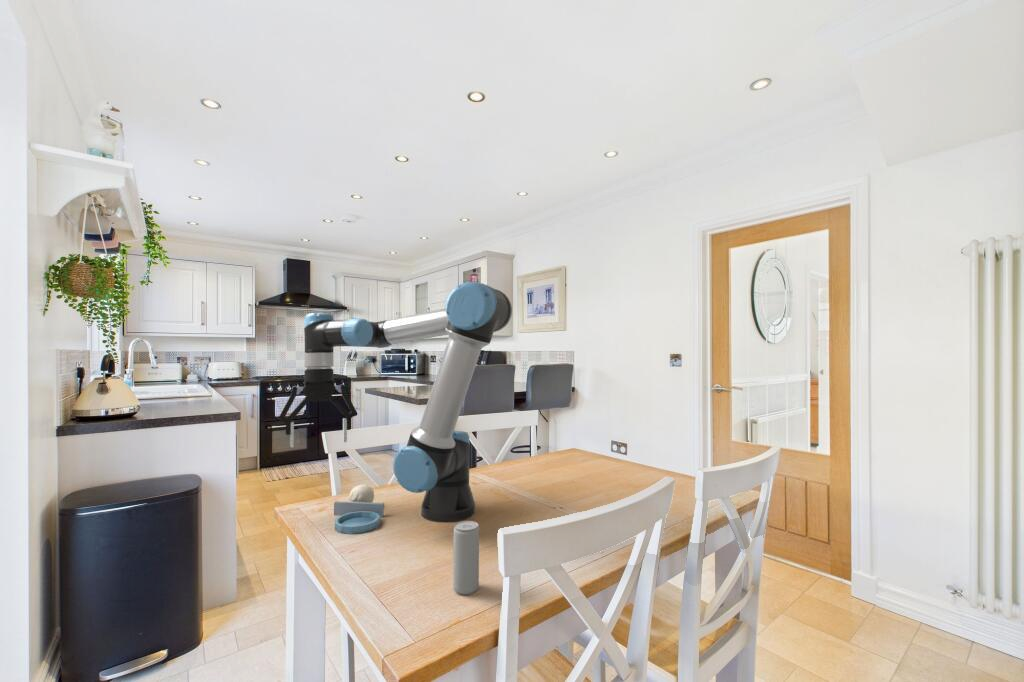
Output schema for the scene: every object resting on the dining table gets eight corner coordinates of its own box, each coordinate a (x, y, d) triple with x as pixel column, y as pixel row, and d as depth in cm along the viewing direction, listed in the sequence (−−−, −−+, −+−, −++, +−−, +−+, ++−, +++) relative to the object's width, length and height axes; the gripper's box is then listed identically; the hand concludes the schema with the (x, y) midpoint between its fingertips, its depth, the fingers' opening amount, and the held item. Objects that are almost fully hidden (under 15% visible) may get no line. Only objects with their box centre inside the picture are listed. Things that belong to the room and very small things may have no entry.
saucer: (386, 518, 120) (386, 512, 120) (368, 535, 109) (368, 527, 109) (347, 517, 121) (347, 510, 121) (326, 532, 111) (326, 525, 111)
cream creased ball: (342, 511, 126) (342, 487, 126) (360, 503, 133) (360, 480, 133) (361, 514, 124) (361, 490, 124) (378, 506, 130) (378, 483, 131)
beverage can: (453, 583, 86) (454, 520, 87) (478, 582, 87) (479, 520, 87) (452, 596, 81) (453, 530, 82) (478, 595, 82) (479, 529, 82)
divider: (383, 515, 122) (383, 503, 122) (382, 517, 121) (382, 504, 121) (335, 513, 124) (335, 501, 124) (333, 515, 123) (334, 502, 123)
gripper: (362, 367, 134) (363, 437, 133) (269, 369, 122) (268, 446, 122) (367, 367, 127) (367, 441, 127) (268, 369, 116) (268, 451, 115)
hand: (319, 444), depth 124 cm, fingers open, 13 cm apart
